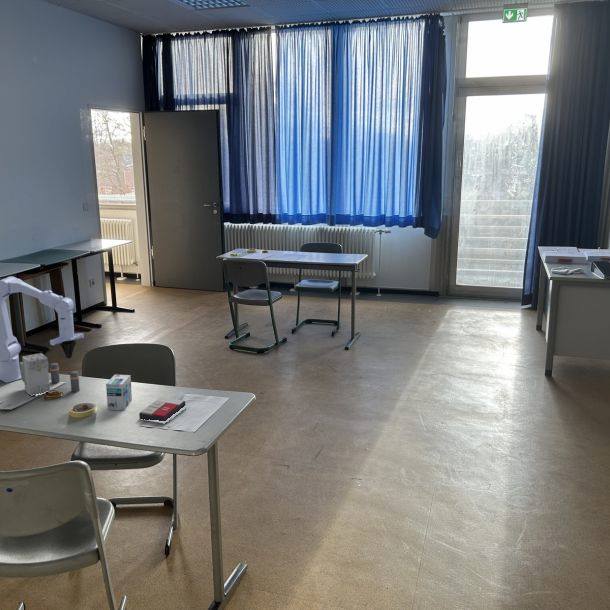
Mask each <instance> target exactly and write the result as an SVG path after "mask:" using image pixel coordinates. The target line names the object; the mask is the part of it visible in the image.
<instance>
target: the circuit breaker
mask: <svg viewBox="0 0 610 610" xmlns="http://www.w3.org/2000/svg"><path fill="white" fill-rule="evenodd" d="M21 359H22V361H19V367H20V375H21V379H20V380H21V381H22V382H23V383H24V390H25V391H26V392H27V393H28V394H29V395H32V396H33V394H35V395H36V394H39V393H40V394H41V393H44V392H46V391H50V390H51V383H50V378H49V369H50V366H49V361H48V357H47V356H46V355H44V354H43V352H40V353H35V354H28V355H23V356H21ZM50 392H51V391H50ZM27 393H26V394H27ZM28 394H27V395H28ZM29 395H28V396H29Z"/></svg>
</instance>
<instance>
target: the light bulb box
mask: <svg viewBox="0 0 610 610" xmlns="http://www.w3.org/2000/svg"><path fill="white" fill-rule="evenodd" d="M131 376H132V375H131V374H114V375H113V376H112V377H111V378H110V379H109V380H108V381H107V382H106V383H105V387H106V388H105V389H106V403H107V411H125V410H126V409H127V408H126V407H129V405H130V404H131V403H132V401H133V393H132V379H131V378H132V377H131ZM129 403H130V404H129Z"/></svg>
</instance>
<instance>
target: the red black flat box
mask: <svg viewBox="0 0 610 610" xmlns="http://www.w3.org/2000/svg"><path fill="white" fill-rule="evenodd" d="M185 405H186V401H185V400H183V399H182V400H181V399H176V398H169V397H163V396H161V397H159V398H158V399H156V400H155V401H153V402H152V403H151V404H149V405H148V406H147V407H145V408H144V409H142V410H141V411H140V412H139V415H138V416H139V420H140V419H143V420H144V419H145V420H149V419H150V420H159V421H166V420H167V419H168V418H170V417H171V416H172V415H173V414H175V413H176V412H178V411H179V410H180V409H181V408H183V407H184V406H185ZM143 420H142V421H143Z"/></svg>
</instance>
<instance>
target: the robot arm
mask: <svg viewBox="0 0 610 610" xmlns="http://www.w3.org/2000/svg"><path fill="white" fill-rule="evenodd" d="M15 293H22V294H24V295H27V296H31V297H33V298H36V299H38V300H39V303H40V304H43V305H44V306H47V307H49V308H52V309H54V310H55V312H56V313H57V317H58V318H57V319H58V330H59V331H58V333H59V336H58V337H56V338H54V339H50V340H49V345H50V346H56V345H59V346H60V347H61V349H62V351H63V353H64V355H65V358H66V359H72V357H73V352H74V349H75V347H76V344H77V341H76V340H80V339H84V338H85V334H84V333H83V332H78V333H75V327H74V326H75V325H74V313H73V309H74V307H75V301H74V300H73V299H72V298H70V297H69V296H65V297H64V296H63V295H58V294H56V293H54V292H53V291H52V290H44V291H42V290H40V289H38V288H37V287H35V286H33V285H30V284H28V283H26V282H24V281H23V280H22V279H21V278H17V277H15V276H12V275H11V276H8V277H5V278H3V279H0V381H2V382H5V383H7V384H8V383H11V382H14V381H18V380H21V370H20V357H19V354H20V352H21V351H22V346H21V344H20V343H19V342H18V339H17V337H16V336H15V335H13V334H14V333H13V329H12V325H11V321H10V317H9V311H8V307H7V302H6V300H7V299H8V297H10V295H11V294H15Z"/></svg>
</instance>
